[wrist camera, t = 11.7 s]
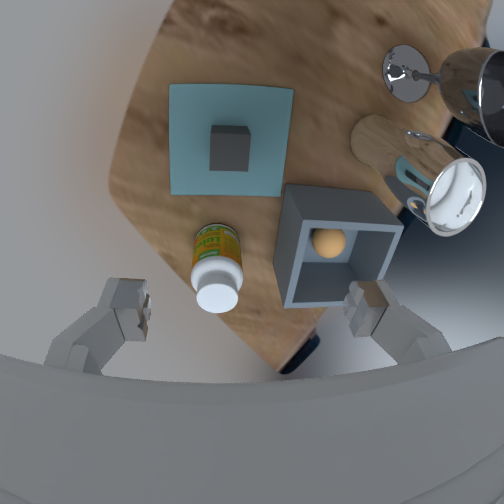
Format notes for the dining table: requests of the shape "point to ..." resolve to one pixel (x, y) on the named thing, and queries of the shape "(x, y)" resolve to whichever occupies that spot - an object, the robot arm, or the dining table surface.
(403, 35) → the dining table surface
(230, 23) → the dining table surface
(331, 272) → the storage box
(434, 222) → the beer glass
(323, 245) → the orange ball
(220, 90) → the lid
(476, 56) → the wine glass
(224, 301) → the supplement bottle
